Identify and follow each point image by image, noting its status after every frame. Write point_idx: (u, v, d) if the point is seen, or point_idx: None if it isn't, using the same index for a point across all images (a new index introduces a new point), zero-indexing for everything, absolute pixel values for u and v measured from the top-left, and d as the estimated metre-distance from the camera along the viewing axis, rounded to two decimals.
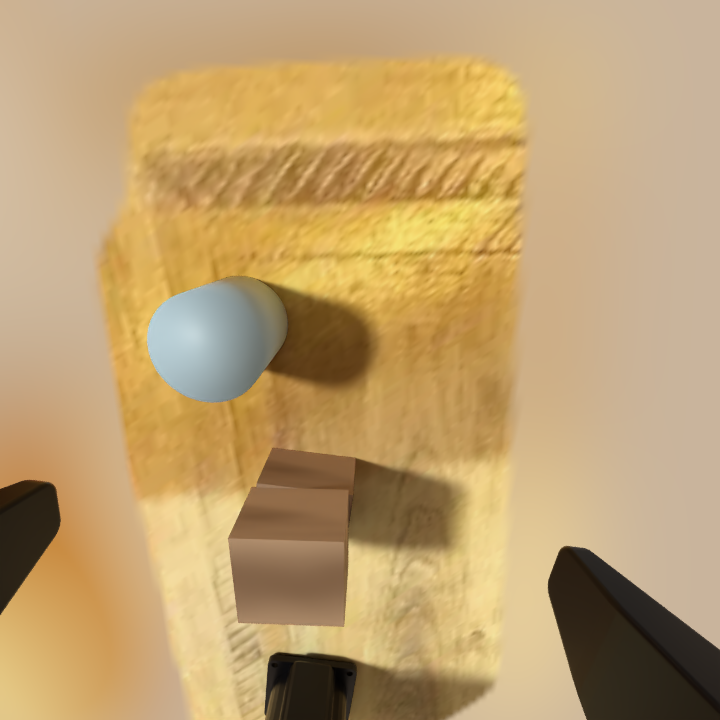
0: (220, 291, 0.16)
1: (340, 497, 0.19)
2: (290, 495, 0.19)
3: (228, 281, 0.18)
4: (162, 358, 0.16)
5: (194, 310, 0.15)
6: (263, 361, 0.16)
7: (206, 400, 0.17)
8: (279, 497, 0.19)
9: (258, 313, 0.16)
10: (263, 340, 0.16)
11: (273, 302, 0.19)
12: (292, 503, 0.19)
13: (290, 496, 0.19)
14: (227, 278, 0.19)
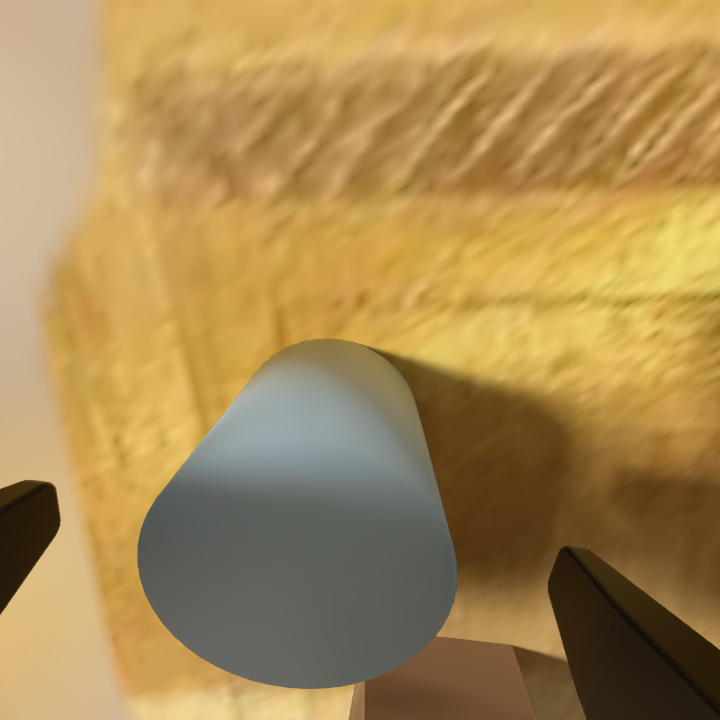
0: (343, 431, 0.06)
1: None
2: None
3: (326, 367, 0.08)
4: (178, 598, 0.06)
5: (272, 492, 0.05)
6: (448, 607, 0.06)
7: (288, 685, 0.07)
8: None
9: (427, 471, 0.06)
10: (454, 556, 0.06)
11: (412, 402, 0.09)
12: None
13: None
14: (313, 351, 0.09)
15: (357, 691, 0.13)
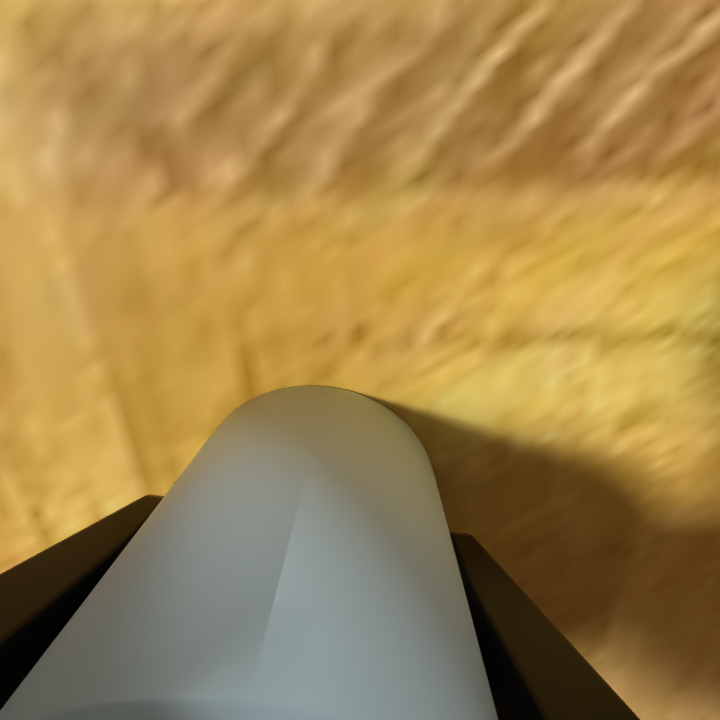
0: (322, 634, 0.03)
1: None
2: None
3: (305, 448, 0.05)
4: None
5: None
6: None
7: None
8: None
9: (471, 661, 0.04)
10: None
11: (430, 485, 0.06)
12: None
13: None
14: (289, 411, 0.06)
15: None
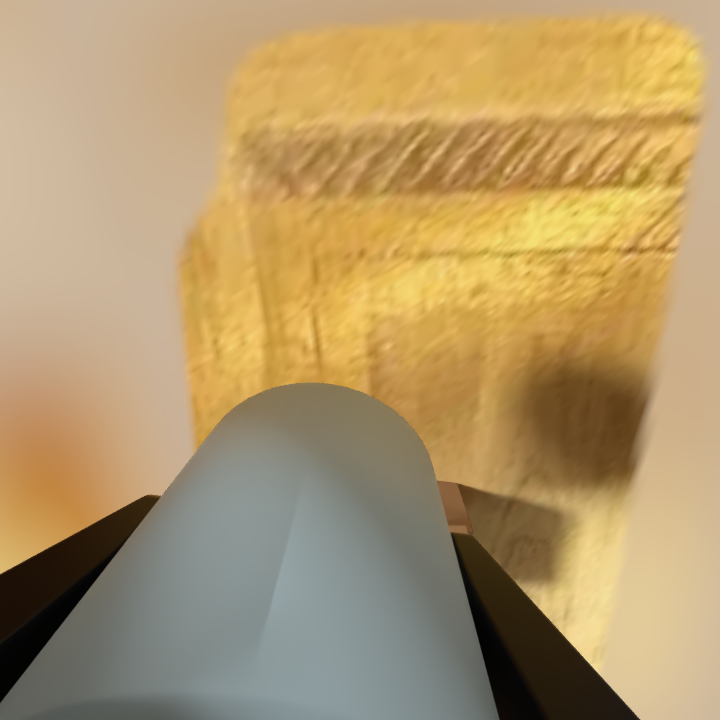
0: (321, 629, 0.03)
1: None
2: None
3: (305, 444, 0.05)
4: None
5: None
6: None
7: None
8: None
9: (471, 657, 0.04)
10: None
11: (431, 482, 0.06)
12: None
13: None
14: (289, 408, 0.06)
15: None
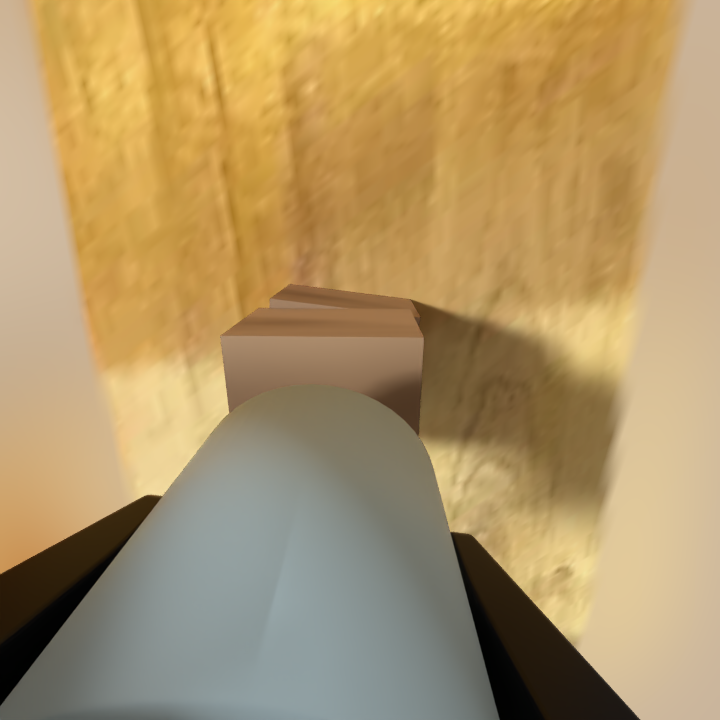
0: (322, 635, 0.03)
1: (400, 312, 0.12)
2: (320, 311, 0.12)
3: (305, 447, 0.05)
4: None
5: None
6: None
7: None
8: (303, 312, 0.12)
9: (473, 662, 0.04)
10: None
11: (431, 484, 0.06)
12: (325, 315, 0.12)
13: (321, 312, 0.12)
14: (289, 410, 0.06)
15: None
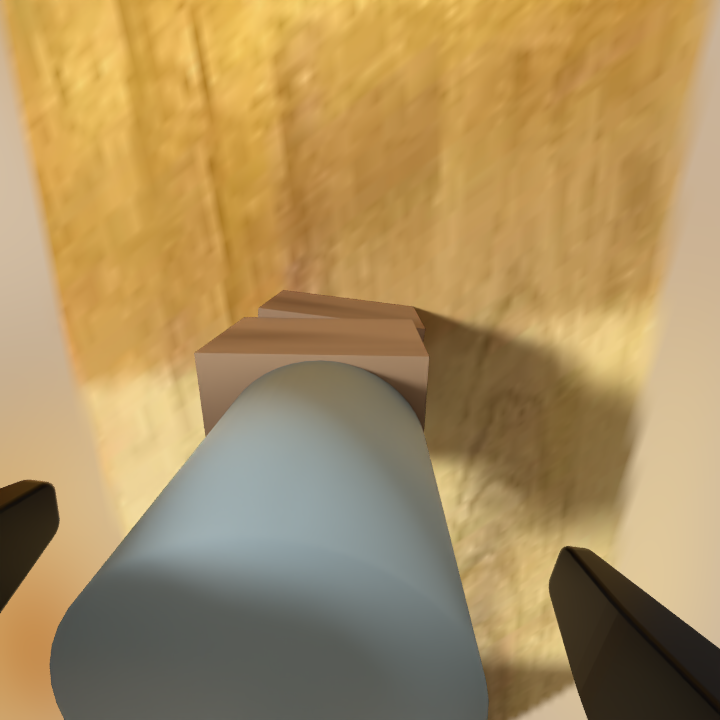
0: (332, 512, 0.04)
1: (401, 323, 0.11)
2: (312, 322, 0.11)
3: (316, 403, 0.06)
4: None
5: (230, 601, 0.04)
6: None
7: None
8: (293, 323, 0.11)
9: (445, 553, 0.05)
10: (482, 677, 0.04)
11: (421, 442, 0.07)
12: (317, 327, 0.10)
13: (313, 322, 0.11)
14: (301, 379, 0.07)
15: None
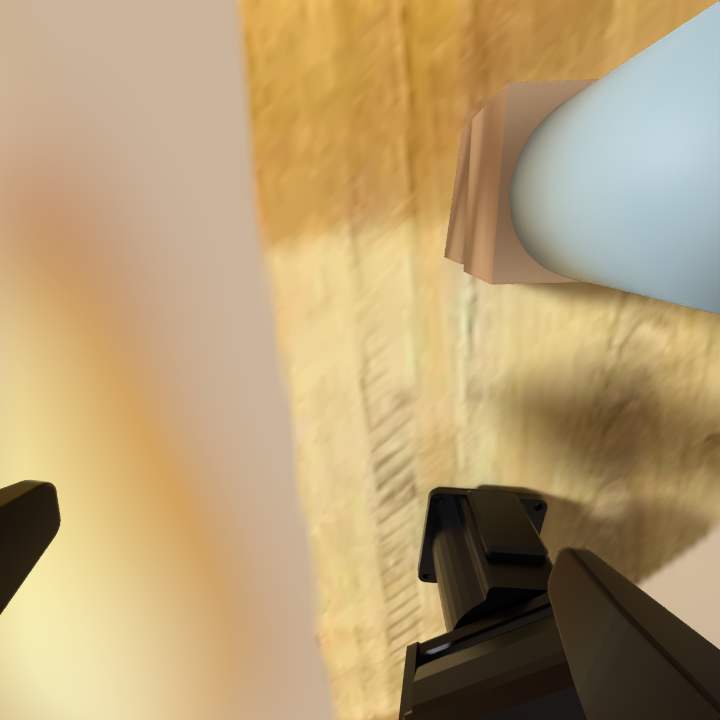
0: None
1: None
2: None
3: None
4: (655, 188, 0.06)
5: None
6: None
7: None
8: None
9: None
10: None
11: None
12: None
13: None
14: None
15: (458, 184, 0.16)
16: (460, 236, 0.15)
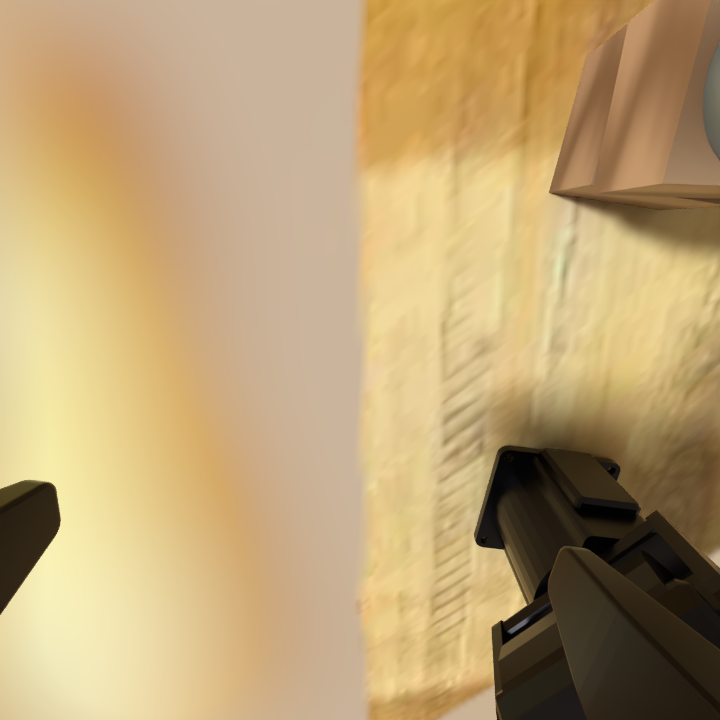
0: None
1: None
2: None
3: None
4: None
5: None
6: None
7: None
8: None
9: None
10: None
11: None
12: None
13: None
14: None
15: (579, 109, 0.15)
16: (587, 158, 0.14)
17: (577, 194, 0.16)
